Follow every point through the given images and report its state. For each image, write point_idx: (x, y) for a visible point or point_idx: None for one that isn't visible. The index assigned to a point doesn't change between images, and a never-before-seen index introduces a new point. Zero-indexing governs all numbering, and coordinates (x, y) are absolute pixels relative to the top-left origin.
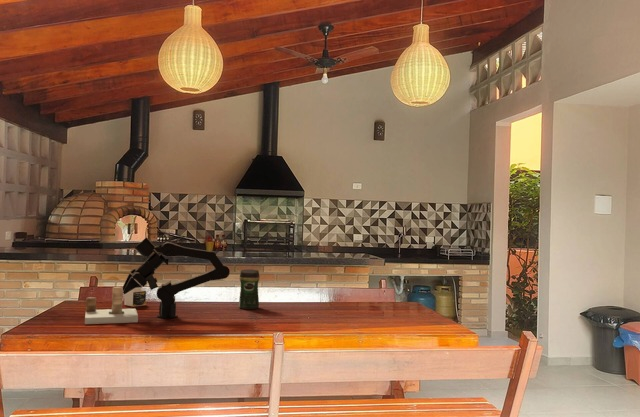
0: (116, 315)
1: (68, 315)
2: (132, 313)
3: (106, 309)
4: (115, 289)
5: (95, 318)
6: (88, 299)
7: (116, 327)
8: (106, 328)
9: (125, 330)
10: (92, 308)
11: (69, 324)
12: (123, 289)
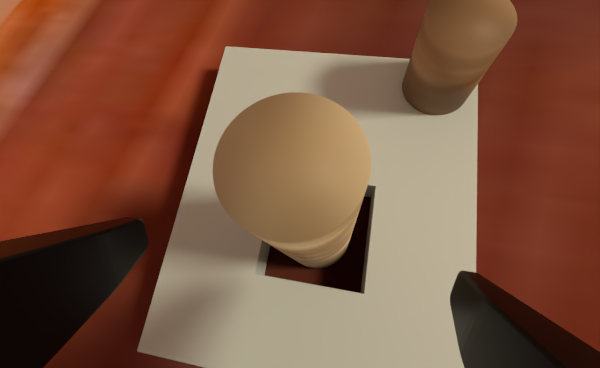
0: (222, 210)
1: None
2: (247, 336)
3: (474, 185)
4: (236, 129)
5: (214, 95)
6: (432, 3)
7: (92, 192)
8: (97, 145)
9: (4, 220)
10: (407, 79)
11: (262, 14)
12: (455, 296)
